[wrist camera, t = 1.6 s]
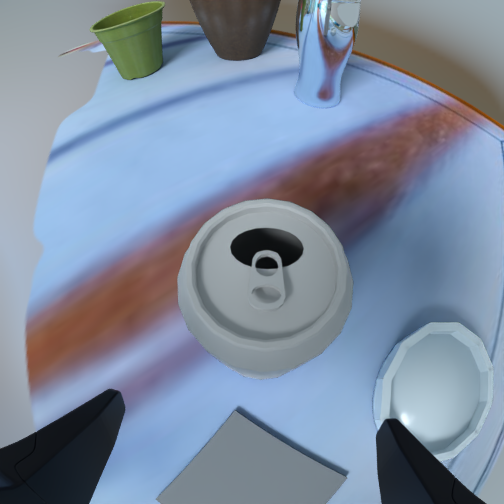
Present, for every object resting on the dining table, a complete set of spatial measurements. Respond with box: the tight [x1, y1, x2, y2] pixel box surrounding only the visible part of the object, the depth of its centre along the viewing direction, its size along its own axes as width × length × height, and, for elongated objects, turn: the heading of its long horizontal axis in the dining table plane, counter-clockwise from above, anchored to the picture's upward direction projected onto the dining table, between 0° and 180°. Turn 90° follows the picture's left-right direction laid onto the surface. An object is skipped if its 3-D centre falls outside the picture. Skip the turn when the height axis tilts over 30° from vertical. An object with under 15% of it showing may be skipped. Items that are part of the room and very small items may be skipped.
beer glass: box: [294, 0, 361, 108], centre depth 28 cm, size 7×7×15 cm
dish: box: [372, 322, 493, 462], centre depth 18 cm, size 11×11×2 cm
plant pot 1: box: [90, 1, 165, 80], centre depth 35 cm, size 12×12×11 cm
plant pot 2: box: [190, 0, 281, 60], centre depth 34 cm, size 15×15×16 cm
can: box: [178, 199, 353, 380], centre depth 16 cm, size 8×8×12 cm
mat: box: [156, 410, 347, 504], centre depth 16 cm, size 10×10×1 cm
